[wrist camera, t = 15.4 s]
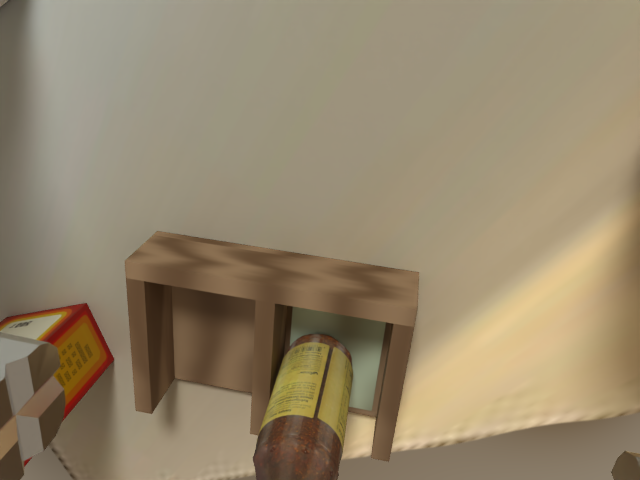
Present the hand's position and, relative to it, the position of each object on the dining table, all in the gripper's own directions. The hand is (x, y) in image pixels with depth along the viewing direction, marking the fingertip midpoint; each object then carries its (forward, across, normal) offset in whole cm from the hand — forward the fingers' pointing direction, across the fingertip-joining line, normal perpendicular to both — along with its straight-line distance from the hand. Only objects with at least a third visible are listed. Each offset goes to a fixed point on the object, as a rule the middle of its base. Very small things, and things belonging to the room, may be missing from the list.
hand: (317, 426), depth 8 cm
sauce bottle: (+34, +4, +25) cm, 43 cm away
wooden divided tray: (+35, +8, +23) cm, 43 cm away
